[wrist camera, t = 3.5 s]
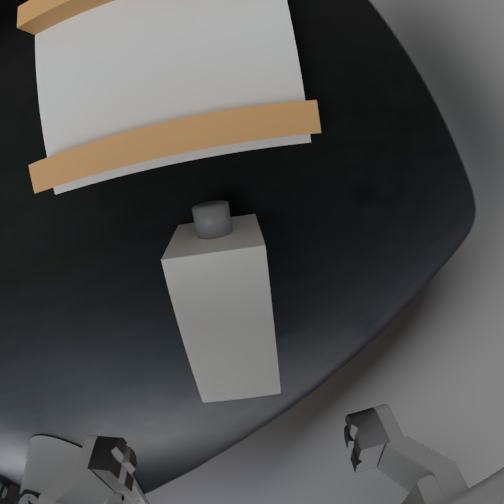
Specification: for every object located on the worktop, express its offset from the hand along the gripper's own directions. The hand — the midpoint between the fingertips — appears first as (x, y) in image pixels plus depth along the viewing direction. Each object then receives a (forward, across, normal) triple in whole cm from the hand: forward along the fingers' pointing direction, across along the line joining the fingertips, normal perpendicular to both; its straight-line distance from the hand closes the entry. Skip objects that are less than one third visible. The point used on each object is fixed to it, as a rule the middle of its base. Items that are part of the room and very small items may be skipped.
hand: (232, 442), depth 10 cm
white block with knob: (+13, 0, -1) cm, 13 cm away
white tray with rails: (+13, -2, +14) cm, 20 cm away
